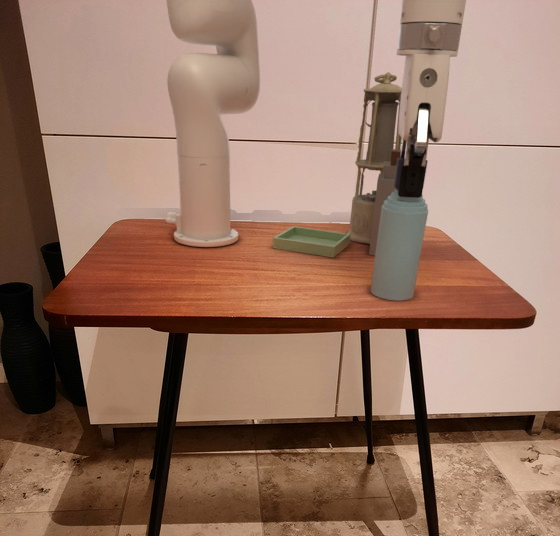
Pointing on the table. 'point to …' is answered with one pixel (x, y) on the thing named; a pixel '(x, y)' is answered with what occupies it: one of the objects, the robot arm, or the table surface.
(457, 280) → the table surface
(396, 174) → the cap
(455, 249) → the table surface
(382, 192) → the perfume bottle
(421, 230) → the bottle
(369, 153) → the lamp
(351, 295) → the table surface
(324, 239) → the tray
